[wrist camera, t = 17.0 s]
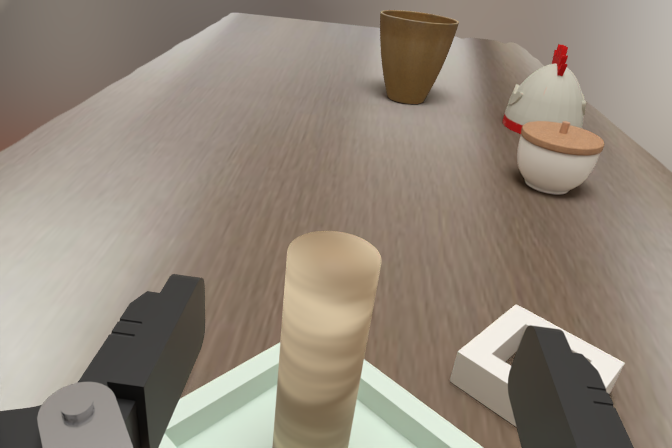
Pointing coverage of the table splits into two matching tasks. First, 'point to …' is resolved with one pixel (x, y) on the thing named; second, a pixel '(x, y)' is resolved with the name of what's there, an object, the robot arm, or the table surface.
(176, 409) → the tray
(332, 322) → the dowel
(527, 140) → the lidded jar
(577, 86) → the chicken shaped dome
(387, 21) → the plant pot
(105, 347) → the robot arm
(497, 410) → the holder block
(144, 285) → the table surface
